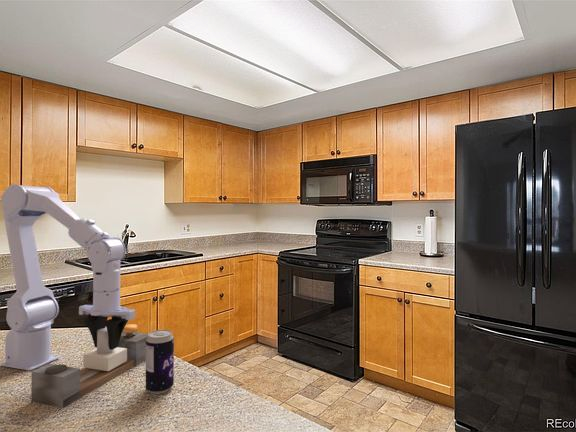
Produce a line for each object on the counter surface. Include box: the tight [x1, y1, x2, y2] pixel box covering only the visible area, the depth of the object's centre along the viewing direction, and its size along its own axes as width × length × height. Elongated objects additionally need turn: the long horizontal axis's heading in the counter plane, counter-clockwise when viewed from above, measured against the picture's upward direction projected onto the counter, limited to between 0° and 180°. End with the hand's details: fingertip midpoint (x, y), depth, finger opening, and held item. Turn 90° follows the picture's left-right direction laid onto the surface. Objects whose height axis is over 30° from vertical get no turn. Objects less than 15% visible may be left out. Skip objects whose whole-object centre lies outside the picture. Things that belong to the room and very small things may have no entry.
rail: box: [30, 331, 149, 409], centre depth 83 cm, size 9×26×6 cm, turn 164°
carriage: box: [82, 328, 127, 371], centre depth 85 cm, size 7×6×8 cm
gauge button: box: [122, 323, 138, 338], centre depth 93 cm, size 4×4×3 cm
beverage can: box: [145, 329, 175, 395], centre depth 77 cm, size 6×6×12 cm
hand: (106, 347), depth 85 cm, fingers closed on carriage, 4 cm apart
